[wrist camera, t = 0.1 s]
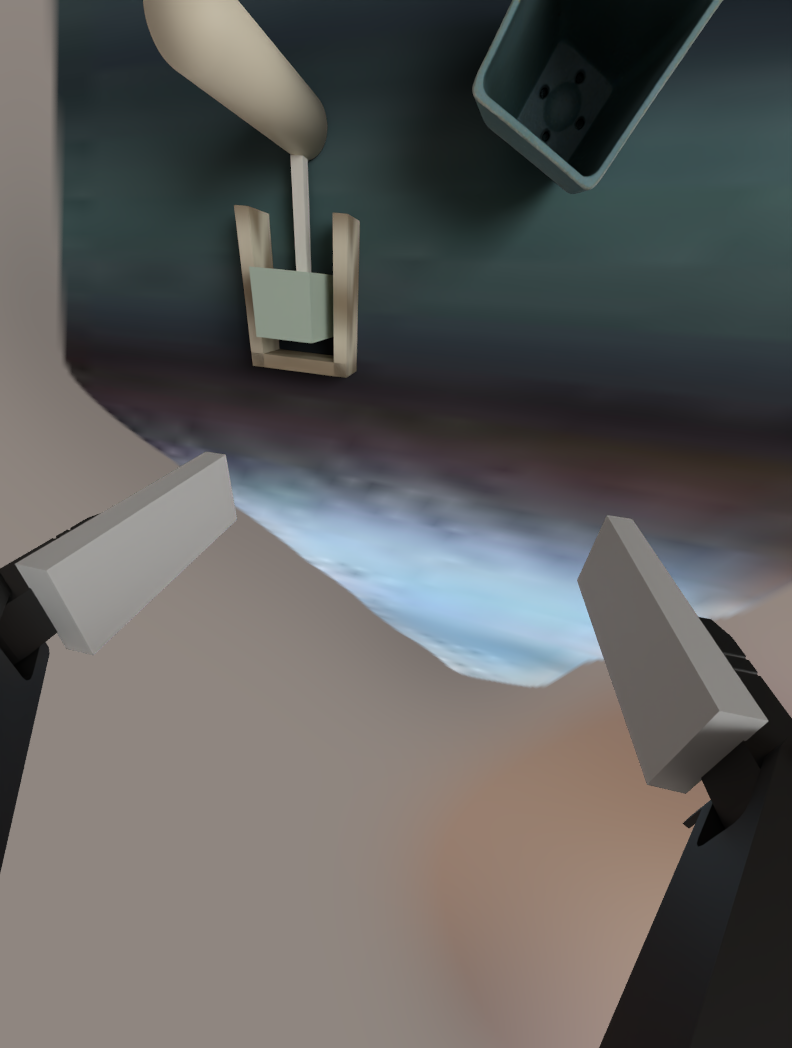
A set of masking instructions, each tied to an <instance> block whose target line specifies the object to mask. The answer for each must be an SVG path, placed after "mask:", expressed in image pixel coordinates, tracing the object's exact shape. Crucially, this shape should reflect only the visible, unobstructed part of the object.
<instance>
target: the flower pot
mask: <svg viewBox="0 0 792 1048" xmlns="http://www.w3.org/2000/svg"><path fill="white" fill-rule="evenodd" d="M722 1H723V0H512V2H511V5H510V7H509V8H508V11H507V13H506V15H505V17H504V19H503V21H502V23H501V26H500V28H499V30H498V32H497V34H496V36H495V38H494V40H493V42H492V44H491V46H490V48H489V50H488V53H487V55H486V56H485V58H484V60H483V62H482V64H481V67H480V69H479V71H478V73H477V75H476V78H475V80H474V83H473V87H472V92H473V95H474V98H475V101H476V103H477V106H478V108H479V111H480V113H481V116H482V118H483V120H484V122H485V124H486V125H487V126H488V127H489V128H490V129H491V130H492V131H493V132H494V133H496V134H497V135H498V136H499V137H501V138H502V139H503V140H504V141H506V142H507V143H508V144H509V145H510V146H512V147H513V148H514V149H515V150H517V151H518V152H519V153H520V154H521V155H523V156H524V157H525V158H526V159H528V160H529V161H530V162H531V163H532V164H534V165H535V166H536V167H537V168H538V169H540V170H541V171H542V172H543V173H544V174H546V175H547V176H548V177H549V178H551V179H552V180H553V181H554V182H555V183H556V184H558V185H559V186H560V187H561V188H562V189H564V190H565V191H566V192H568V193H570V194H576V193H580V192H583V191H587V190H590V189H592V188H594V187H595V186H596V185H597V184H598V182H599V181H600V179H601V178H602V177H603V175H604V174H605V172H606V171H607V169H608V167H609V166H610V165H611V163H612V162H613V160H614V159H615V157H616V155H617V154H618V152H619V151H620V150H621V148H622V147H623V145H624V143H625V142H626V140H627V139H628V137H629V136H630V134H631V133H632V132H633V130H634V129H635V127H636V126H637V124H638V123H639V121H640V119H641V118H642V117H643V115H644V114H645V112H646V111H647V109H648V108H649V106H650V105H651V103H652V102H653V101H654V99H655V97H656V96H657V94H658V93H659V92H660V90H661V89H662V87H663V86H664V84H665V83H666V81H667V80H668V79H669V77H670V76H671V74H672V73H673V71H674V70H675V68H676V67H677V66H678V64H679V63H680V61H681V60H682V58H683V57H684V55H685V54H686V52H687V51H688V49H689V48H690V47H691V45H692V44H693V42H694V41H695V39H696V38H697V37H698V35H699V34H700V32H701V31H702V29H703V28H704V26H705V25H706V23H707V22H708V21H709V19H710V18H711V16H712V15H713V13H714V12H715V10H716V9H717V8H718V6H719V5H720V3H721V2H722ZM580 72H582V73H583V74H584V79H583V81H582V82H581V83H580V84H578V83H576V76H577V74H578V73H580ZM544 87H546V88H547V90H548V93H547V96H546V97H544V98H541V96H540V92H541V90H542V88H544ZM581 118H582V119H583V120H584V125H583V127H582V128H581V129H577V128H576V122H577V120H578V119H581ZM544 132H548V133H549V139H548V140H547V141H546V142H545V141H543V140H542V135H543V133H544Z"/></svg>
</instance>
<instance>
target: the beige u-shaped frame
mask: <svg viewBox="0 0 792 1048" xmlns="http://www.w3.org/2000/svg"><path fill="white" fill-rule="evenodd" d="M234 209H235V218H236V226H237V235H238V243H239V252H240V260H241V269H242V277H243V286H244V294H245V303H246V311H247V320H248V328H249V337H250V345H251V354H252V362H253V366H260V367H267V368H275V369H283V370H290V371H298V372H306V373H313V374H321V375H329V376H337V377H344V378H346V377H348V376H350V375H351V374H353V373H354V372H356V361H357V319H358V276H359V234H360V221H359V220H357V219H355V218H354V217H352V216H350V215H349V214H342V213H333V320H334V356H332V355H324V354H316V353H308V352H300V351H292V350H284V349H280V348H279V339H271V338H263V337H257V336H256V327H255V317H254V308H253V299H252V290H251V280H250V271H249V266H250V267H260V268H271V269H273V260H272V248H271V235H270V222H269V214H268V213H265V212H262V211H260V210H257V209H254V208H252V207H249V206H240V205H234Z"/></svg>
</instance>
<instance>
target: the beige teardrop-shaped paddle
mask: <svg viewBox="0 0 792 1048" xmlns="http://www.w3.org/2000/svg"><path fill="white" fill-rule="evenodd" d="M143 5H144V12H145V17H146V21H147V24H148V28H149V31H150V33H151V36H152V39H153V41H154V43H155V45H156V47H157V49H158V50H159V52H160V53H161V55H162V56H163V58H164V59H165V60H166V61H167V63H168V64H169V65H170V66H171V67H172V68H174V69H175V70H176V71H178V72H179V73H180V74H182V75H183V76H184V77H186V78H187V79H188V80H190V81H191V82H193V83H194V84H195V85H197V86H198V87H199V88H201V89H202V90H203V91H205V92H206V93H207V94H209V95H210V96H212V97H213V98H214V99H216V100H217V101H218V102H220V103H221V104H222V105H224V106H225V107H227V108H228V109H229V110H231V111H232V112H233V113H235V114H236V115H237V116H239V117H240V118H242V119H243V120H244V121H246V122H247V123H248V124H250V125H251V126H252V127H254V128H255V129H257V130H258V131H259V132H261V133H262V134H263V135H265V136H266V137H267V138H269V139H270V140H272V141H273V142H274V143H276V144H277V145H278V146H280V147H281V148H282V149H284V150H285V151H287V152H288V153H289V154H291V155H290V158H291V178H292V197H293V216H294V236H295V255H296V271H291V270H281V269H271V268H260V267H250V266H249V271H250V280H251V290H252V299H253V308H254V317H255V327H256V336H257V337H263V338H271V339H280V340H288V341H296V342H304V343H315V342H318V341H321V340H325V339H328V338H331V337H334V320H333V275H328V274H319V273H311V247H310V217H309V187H308V160H311V159H313V158H315V157H316V156H317V155H318V154H319V153H320V152H321V150H322V149H323V147H324V144H325V141H326V137H327V118H326V113H325V110H324V107H323V105H322V103H321V101H320V100H319V98H318V97H317V96H316V95H315V93H314V92H313V91H312V90H311V89H310V87H309V86H308V85H307V84H306V82H305V81H304V80H303V79H302V78H301V76H300V75H299V74H298V73H297V72H296V70H295V69H294V68H293V67H292V65H291V64H290V63H289V62H288V61H287V59H286V58H285V57H284V56H283V55H282V53H281V52H280V51H279V50H278V48H277V47H276V46H275V45H274V44H273V42H272V41H271V40H270V39H269V38H268V36H267V35H266V34H265V33H264V31H263V30H262V29H261V28H260V27H259V25H258V24H257V23H256V22H255V21H254V19H253V18H252V17H251V16H250V15H249V13H248V12H247V11H246V10H245V8H244V7H243V6H242V5H241V4H240V2H239V1H238V0H143Z"/></svg>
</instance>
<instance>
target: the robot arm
mask: <svg viewBox="0 0 792 1048" xmlns="http://www.w3.org/2000/svg"><path fill="white" fill-rule="evenodd" d="M236 520H237V516H236V511H235V505H234V499H233V493H232V488H231V482H230V477H229V471H228V465H227V460H226V455H224V454H218V453H211V452H204V453H203V454H201V455H199V456H198V457H196V458H194V459H193V460H191V461H189V462H187V463H186V464H184V465H182V466H181V467H179V468H177V469H176V470H174V471H172V472H170V473H169V474H167V475H165V476H164V477H162V478H161V479H158V480H157V481H155V482H153V483H152V484H150V485H148V486H147V487H145V488H143V489H141V490H140V491H138V492H136V493H135V494H133V495H131V496H130V497H128V498H126V499H125V500H123V501H121V502H119V503H118V504H116V505H114V506H112V507H111V508H109V509H107V510H106V511H104V512H102V513H100V514H97V515H95V516H92V517H89V518H87V519H85V520H83V521H82V522H80V523H78V524H76V525H75V526H73V527H71V529H70V530H66V531H64V532H63V533H61V534H59V535H57V536H56V539H53V538H52V539H50V540H49V541H47V542H45V543H44V544H42V545H40V546H38V547H37V548H35V549H33V550H31V551H30V552H28V553H26V554H25V555H23V556H21V557H19V558H18V559H16V560H14V561H13V562H11V563H9V564H8V565H6V566H4V567H2V568H0V871H1V867H2V863H3V858H4V854H5V850H6V845H7V841H8V836H9V832H10V827H11V823H12V818H13V814H14V809H15V805H16V800H17V796H18V791H19V787H20V782H21V778H22V774H23V769H24V764H25V760H26V756H27V751H28V747H29V742H30V738H31V734H32V729H33V724H34V720H35V716H36V711H37V707H38V702H39V697H40V694H41V689H42V685H43V680H44V676H45V671H46V666H47V662H48V658H49V647H48V646H47V644H46V641H47V640H48V639H50V638H51V637H52V636H53V635H54V634H56V633H57V634H58V636H59V637H60V639H61V640H62V642H63V644H64V645H65V647H66V649H69V650H73V651H78V652H82V653H86V654H91V655H94V654H95V653H96V652H97V651H98V650H100V649H101V648H102V647H103V646H104V645H105V644H106V643H107V642H108V641H109V640H110V639H111V638H112V637H113V636H114V635H115V634H116V633H118V632H119V631H120V630H121V629H122V628H123V627H124V626H125V625H126V624H127V623H128V622H129V621H130V620H131V619H132V618H133V617H134V616H136V614H138V613H139V612H140V611H141V610H142V609H143V608H144V607H145V606H146V605H147V604H148V603H149V602H150V601H151V600H152V599H154V598H155V597H156V596H157V595H158V594H159V593H160V592H161V591H162V590H163V589H164V588H165V587H166V586H167V585H168V584H169V583H170V582H172V581H173V580H174V579H175V578H176V577H177V576H178V575H179V574H180V573H181V572H182V571H183V570H184V569H185V568H186V567H187V566H188V565H190V563H192V562H193V561H194V560H195V559H196V558H197V557H198V556H199V555H200V554H201V553H202V552H203V551H204V550H205V549H206V548H208V547H209V546H210V545H211V544H212V543H213V542H214V541H215V540H216V539H217V538H218V537H219V536H220V535H221V534H222V533H223V532H224V531H226V529H228V528H229V527H230V526H231V525H232V524H233V523H234V522H235V521H236ZM577 581H578V584H579V587H580V590H581V593H582V596H583V599H584V602H585V605H586V608H587V611H588V614H589V617H590V619H591V622H592V625H593V628H594V631H595V634H596V637H597V640H598V643H599V646H600V649H601V652H602V655H603V657H604V660H605V663H606V666H607V669H608V672H609V675H610V678H611V680H612V684H613V687H614V689H615V692H616V695H617V698H618V701H619V704H620V707H621V710H622V713H623V716H624V719H625V722H626V724H627V727H628V730H629V733H630V736H631V739H632V742H633V745H634V748H635V751H636V754H637V757H638V760H639V763H640V766H641V768H642V771H643V774H644V777H645V780H646V783H647V785H651V786H655V787H659V788H664V789H668V790H672V791H677V792H681V793H685V794H686V793H687V792H688V791H690V790H691V789H692V788H693V787H694V786H695V785H696V784H697V783H699V782H700V781H701V780H702V781H703V784H704V786H705V788H706V790H707V792H708V795H709V797H710V799H711V800H710V801H709V802H708V803H706V804H705V805H704V806H703V807H701V808H700V809H699V810H698V811H696V812H695V813H694V814H693V815H691V816H690V817H689V818H688V819H687V820H686V821H685V822H684V823H683V824H684V825H685V826H686V827H688V828H690V827H692V826H693V825H694V824H695V826H694V828H693V831H692V833H691V835H690V838H689V840H688V842H687V844H686V847H685V849H684V851H683V854H682V856H681V858H680V861H679V863H678V865H677V868H676V870H675V872H674V875H673V877H672V879H671V882H670V884H669V887H668V889H667V891H666V893H665V896H664V898H663V900H662V903H661V905H660V907H659V910H658V912H657V914H656V917H655V919H654V921H653V924H652V926H651V928H650V931H649V933H648V935H647V938H646V940H645V942H644V945H643V947H642V949H641V952H640V954H639V957H638V959H637V961H636V963H635V966H634V968H633V970H632V972H631V975H630V977H629V980H628V982H627V984H626V987H625V989H624V991H623V994H622V996H621V998H620V1001H619V1003H618V1005H617V1007H616V1010H615V1012H614V1014H613V1017H612V1019H611V1021H610V1024H609V1026H608V1028H607V1031H606V1033H605V1035H604V1038H603V1040H602V1042H601V1045H600V1047H599V1048H792V718H791V717H790V716H789V714H788V713H787V712H786V710H785V709H784V707H783V706H782V705H781V703H780V702H779V701H778V699H777V698H776V697H775V695H774V694H773V692H772V691H771V690H770V688H769V687H768V686H767V684H766V683H765V682H764V680H763V679H762V678H761V676H758V675H757V671H756V669H755V668H754V667H753V665H752V664H751V663H750V661H749V660H746V659H745V657H746V656H745V654H744V653H743V652H742V650H741V649H740V648H739V646H738V645H737V643H736V642H735V641H734V640H733V639H732V637H731V636H730V635H729V634H727V633H726V632H725V631H724V630H723V629H722V628H721V627H719V626H718V625H717V624H716V623H715V622H714V621H712V620H711V619H706V618H701V617H698V616H697V614H696V613H695V611H694V610H693V608H692V607H691V605H690V604H689V602H688V601H687V600H686V598H685V597H684V595H683V594H682V592H681V591H680V589H679V588H678V586H677V585H676V583H675V582H674V580H673V579H672V577H671V576H670V574H669V573H668V571H667V570H666V568H665V567H664V566H663V564H662V563H661V561H660V560H659V558H658V557H657V555H656V554H655V552H654V551H653V549H652V548H651V546H650V545H649V543H648V542H647V540H646V539H645V537H644V536H643V534H642V533H641V532H640V530H639V529H638V527H637V526H636V524H635V523H634V521H633V520H632V519H628V518H621V517H615V516H609V515H607V516H606V519H605V521H604V523H603V525H602V527H601V529H600V532H599V534H598V536H597V538H596V540H595V542H594V545H593V547H592V549H591V551H590V553H589V556H588V558H587V560H586V562H585V564H584V566H583V569H582V571H581V573H580V575H579V577H578V580H577Z"/></svg>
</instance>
